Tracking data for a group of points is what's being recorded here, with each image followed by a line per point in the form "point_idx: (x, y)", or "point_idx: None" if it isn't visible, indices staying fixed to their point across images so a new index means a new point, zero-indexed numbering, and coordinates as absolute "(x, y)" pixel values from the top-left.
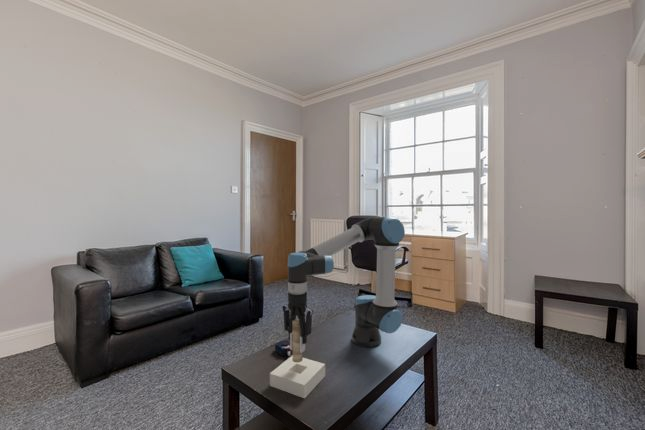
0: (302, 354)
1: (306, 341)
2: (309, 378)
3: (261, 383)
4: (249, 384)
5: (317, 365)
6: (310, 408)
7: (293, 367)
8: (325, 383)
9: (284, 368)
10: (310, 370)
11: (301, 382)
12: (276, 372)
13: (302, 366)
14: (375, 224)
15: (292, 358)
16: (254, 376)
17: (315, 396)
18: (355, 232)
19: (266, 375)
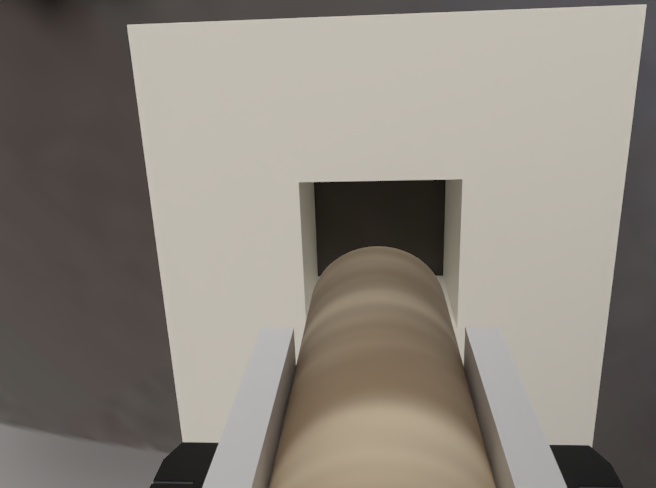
0: (446, 312)
1: (614, 481)
2: (590, 350)
3: (133, 384)
4: (68, 430)
5: (562, 90)
6: (648, 443)
7: (303, 236)
8: (643, 124)
9: (248, 324)
10: (529, 223)
11: (544, 431)
12: (226, 409)
13: (387, 178)
14: None
15: (184, 111)
16: (11, 341)
17: (628, 322)
18: None
19: (80, 285)
